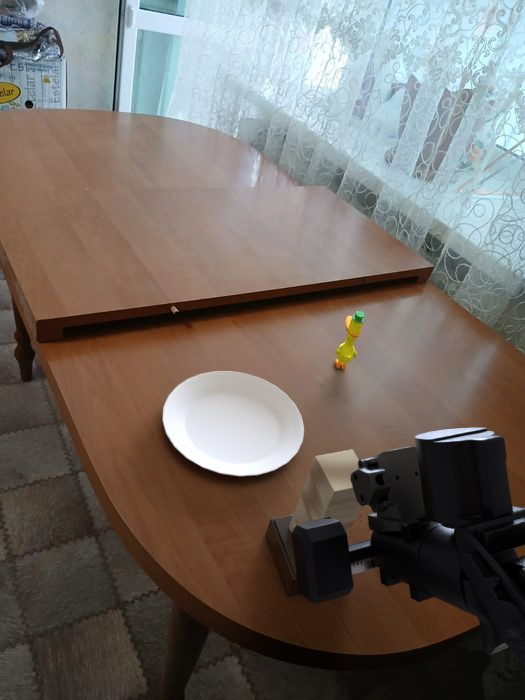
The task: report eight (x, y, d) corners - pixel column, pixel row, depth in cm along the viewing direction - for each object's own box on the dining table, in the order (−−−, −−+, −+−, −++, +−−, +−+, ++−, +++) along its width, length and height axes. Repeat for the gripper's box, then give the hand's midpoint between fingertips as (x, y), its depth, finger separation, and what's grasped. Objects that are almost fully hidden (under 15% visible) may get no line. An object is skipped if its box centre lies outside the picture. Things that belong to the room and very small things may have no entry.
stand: (348, 581, 65) (357, 563, 63) (287, 596, 62) (294, 578, 60) (321, 524, 71) (329, 505, 68) (264, 535, 68) (270, 516, 65)
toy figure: (328, 351, 101) (346, 297, 93) (347, 354, 101) (366, 300, 94) (332, 375, 95) (352, 320, 88) (352, 378, 96) (373, 323, 88)
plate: (232, 513, 69) (235, 503, 68) (131, 418, 79) (132, 407, 77) (327, 438, 83) (331, 428, 82) (232, 364, 92) (234, 354, 91)
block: (339, 552, 63) (373, 483, 55) (303, 561, 62) (334, 491, 54) (322, 519, 67) (352, 449, 59) (288, 527, 65) (315, 456, 57)
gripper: (518, 440, 47) (406, 434, 61) (330, 478, 40) (252, 461, 54) (538, 572, 46) (419, 534, 60) (350, 635, 39) (266, 575, 53)
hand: (344, 523), depth 57 cm, fingers open, 9 cm apart
